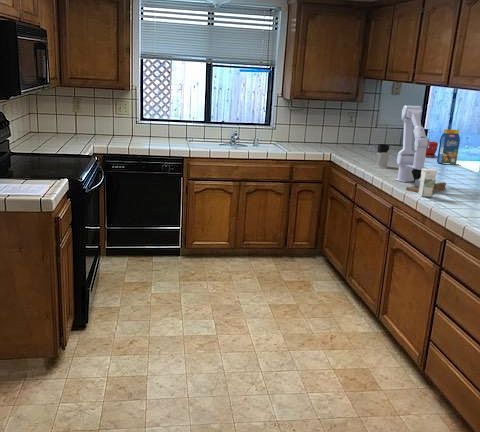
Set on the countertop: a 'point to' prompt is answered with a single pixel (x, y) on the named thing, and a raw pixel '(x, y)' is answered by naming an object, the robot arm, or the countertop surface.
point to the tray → (418, 183)
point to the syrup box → (427, 182)
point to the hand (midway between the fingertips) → (416, 182)
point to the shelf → (436, 188)
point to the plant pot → (431, 149)
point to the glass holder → (381, 155)
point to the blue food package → (449, 147)
